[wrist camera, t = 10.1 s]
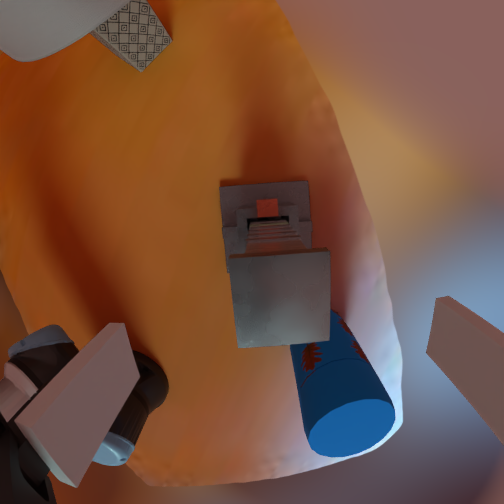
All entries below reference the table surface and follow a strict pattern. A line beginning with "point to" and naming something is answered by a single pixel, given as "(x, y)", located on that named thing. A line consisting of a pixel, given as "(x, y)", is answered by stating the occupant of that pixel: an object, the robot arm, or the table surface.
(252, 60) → the table surface
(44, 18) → the lamp
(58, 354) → the robot arm
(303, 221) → the stand base
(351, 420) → the thermos
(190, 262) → the table surface
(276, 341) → the column
